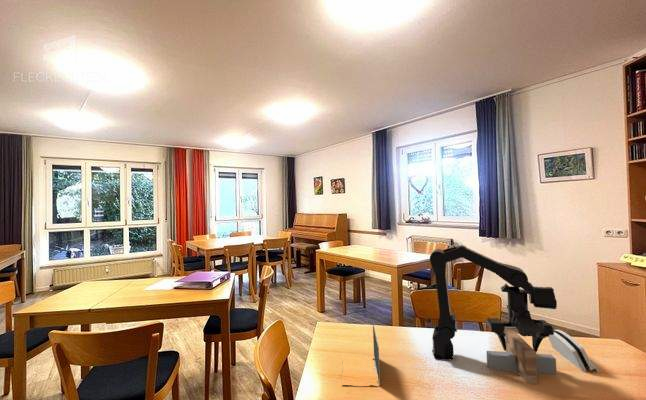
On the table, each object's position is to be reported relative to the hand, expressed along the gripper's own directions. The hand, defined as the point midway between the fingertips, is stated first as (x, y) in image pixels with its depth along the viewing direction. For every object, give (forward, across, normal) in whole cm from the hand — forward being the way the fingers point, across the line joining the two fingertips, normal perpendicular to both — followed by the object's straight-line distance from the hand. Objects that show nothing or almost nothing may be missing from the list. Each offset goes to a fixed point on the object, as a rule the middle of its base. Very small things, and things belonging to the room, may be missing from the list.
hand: (519, 351), depth 100 cm
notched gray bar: (+6, 0, 0) cm, 6 cm away
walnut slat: (+6, 0, 0) cm, 6 cm away
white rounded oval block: (+7, +20, +10) cm, 23 cm away
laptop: (+7, -54, -8) cm, 55 cm away
